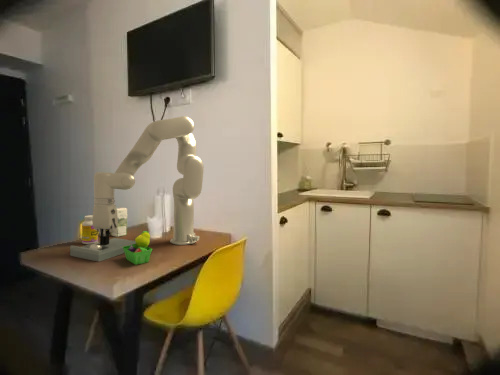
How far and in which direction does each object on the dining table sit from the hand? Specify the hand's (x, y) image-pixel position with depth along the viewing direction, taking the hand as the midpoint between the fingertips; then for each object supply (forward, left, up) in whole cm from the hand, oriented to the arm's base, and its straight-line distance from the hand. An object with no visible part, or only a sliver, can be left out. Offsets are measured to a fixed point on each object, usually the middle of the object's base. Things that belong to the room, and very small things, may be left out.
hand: (104, 244), depth 120 cm
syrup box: (+18, -25, -4) cm, 31 cm away
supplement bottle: (+18, -8, -4) cm, 20 cm away
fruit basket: (-20, +1, -4) cm, 20 cm away
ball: (0, +4, -1) cm, 4 cm away
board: (0, -2, -3) cm, 4 cm away
